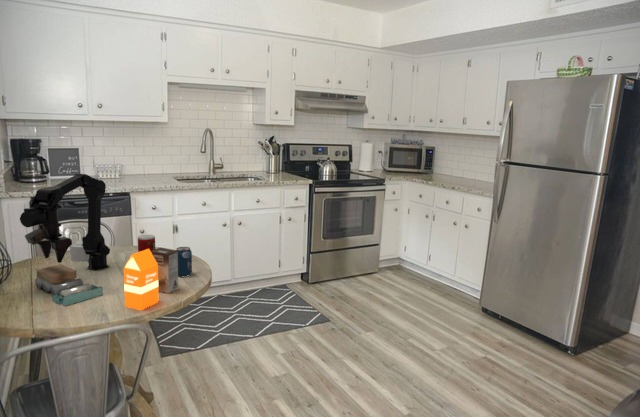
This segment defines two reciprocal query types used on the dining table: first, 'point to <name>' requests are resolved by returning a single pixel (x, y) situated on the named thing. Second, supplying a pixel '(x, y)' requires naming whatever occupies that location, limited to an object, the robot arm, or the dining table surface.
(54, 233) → the robot arm
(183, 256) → the soda can
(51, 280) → the slab
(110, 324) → the dining table surface
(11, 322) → the dining table surface
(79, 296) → the roller bed
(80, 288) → the roller
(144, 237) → the canned food
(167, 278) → the coffee box
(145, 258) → the orange juice
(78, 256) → the lumpy-topped squat cylinder
